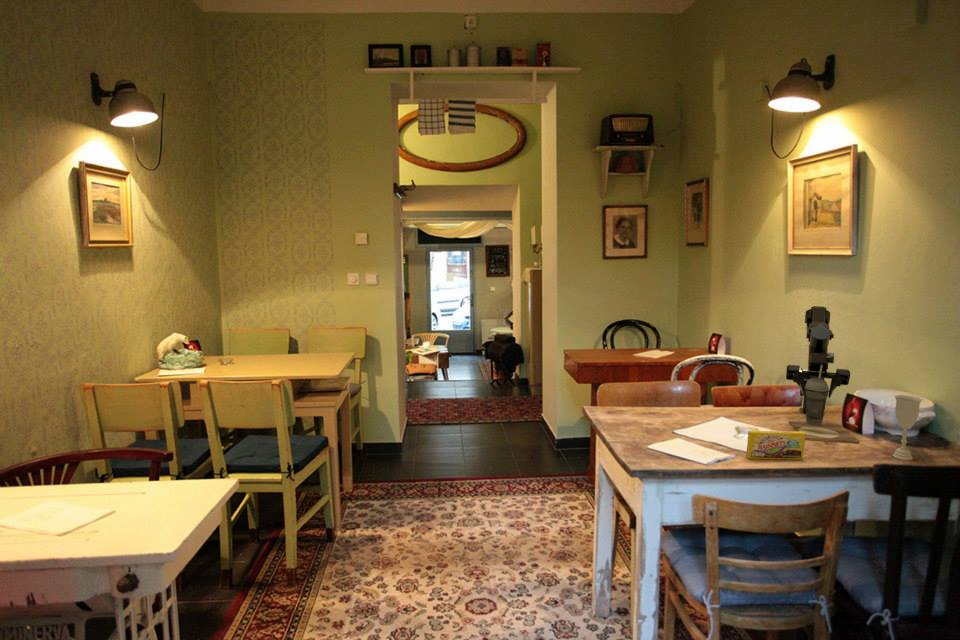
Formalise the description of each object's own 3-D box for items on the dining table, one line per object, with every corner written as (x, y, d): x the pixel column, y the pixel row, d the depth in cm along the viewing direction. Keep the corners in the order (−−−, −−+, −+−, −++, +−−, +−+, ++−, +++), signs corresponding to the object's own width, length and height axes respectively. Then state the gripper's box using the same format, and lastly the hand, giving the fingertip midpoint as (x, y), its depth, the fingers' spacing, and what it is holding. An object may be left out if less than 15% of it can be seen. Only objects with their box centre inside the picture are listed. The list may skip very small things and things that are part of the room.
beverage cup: (813, 419, 220) (817, 361, 217) (831, 425, 213) (836, 365, 210) (796, 421, 217) (801, 362, 214) (814, 427, 210) (819, 367, 208)
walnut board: (788, 422, 229) (788, 419, 229) (838, 425, 226) (838, 422, 226) (805, 439, 209) (805, 436, 209) (859, 443, 206) (859, 440, 206)
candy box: (748, 459, 191) (750, 432, 189) (745, 457, 193) (747, 430, 192) (803, 460, 191) (806, 432, 190) (800, 457, 193) (802, 430, 192)
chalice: (887, 451, 199) (893, 394, 196) (914, 455, 196) (920, 396, 194) (890, 458, 192) (896, 399, 190) (918, 462, 189) (924, 402, 187)
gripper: (788, 341, 219) (786, 379, 211) (852, 345, 211) (852, 386, 203) (787, 359, 227) (784, 397, 219) (848, 364, 219) (848, 404, 211)
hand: (816, 396), depth 213 cm, fingers closed on beverage cup, 7 cm apart
